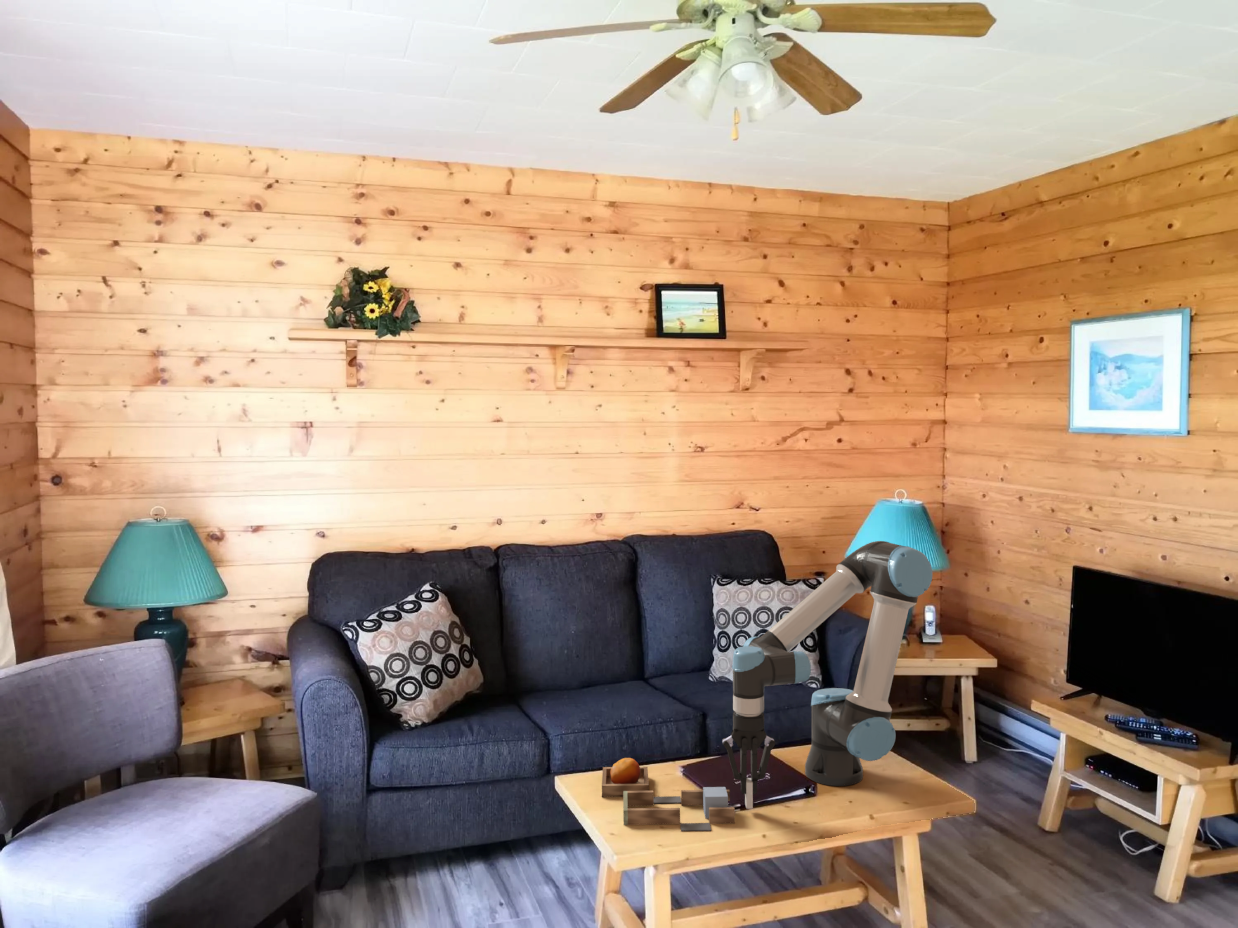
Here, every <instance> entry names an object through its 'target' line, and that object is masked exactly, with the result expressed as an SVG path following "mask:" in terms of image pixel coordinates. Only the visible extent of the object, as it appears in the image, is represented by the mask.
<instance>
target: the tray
mask: <svg viewBox="0 0 1238 928" xmlns="http://www.w3.org/2000/svg"><path fill="white" fill-rule="evenodd" d="M612 767H613V766H605V767H604V766H602V773H601V774H602V775H601V798H623V791H650V785H649V768H648V767H649V766H640V777H639V780H638V782H637V783H636V784H614V783H613V782H612V781H611V774H610V771H611V768H612ZM639 782H640V783H639Z"/></svg>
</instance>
